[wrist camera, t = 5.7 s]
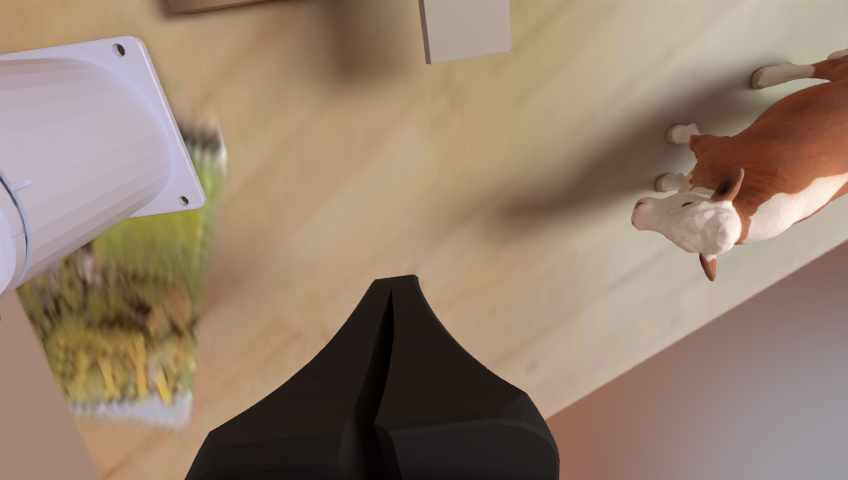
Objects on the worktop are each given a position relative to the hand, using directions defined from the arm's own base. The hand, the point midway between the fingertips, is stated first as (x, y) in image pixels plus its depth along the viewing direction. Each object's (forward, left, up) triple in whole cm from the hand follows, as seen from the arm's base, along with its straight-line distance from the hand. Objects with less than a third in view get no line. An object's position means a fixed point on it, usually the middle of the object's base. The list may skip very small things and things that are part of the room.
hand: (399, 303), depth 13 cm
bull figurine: (+16, +1, -10) cm, 19 cm away
